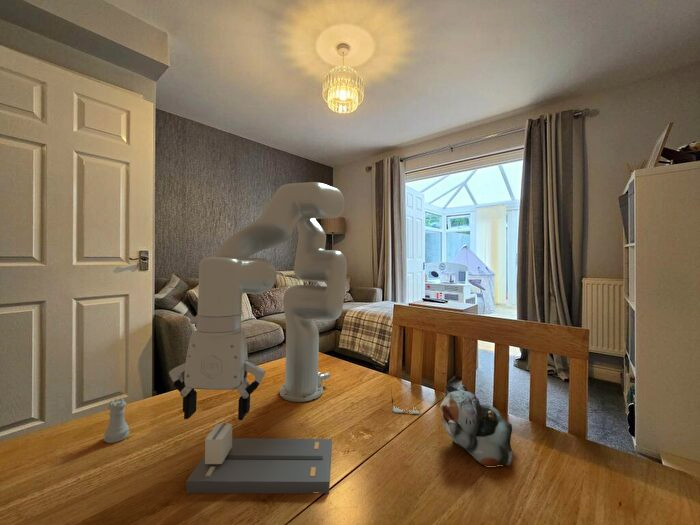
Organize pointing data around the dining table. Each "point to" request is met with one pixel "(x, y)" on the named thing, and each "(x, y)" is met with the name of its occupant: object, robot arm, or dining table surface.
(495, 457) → the lucky cat figurine
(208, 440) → the fader
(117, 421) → the rook chess piece
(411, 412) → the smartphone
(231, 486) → the grey slotted panel
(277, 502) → the dining table surface
